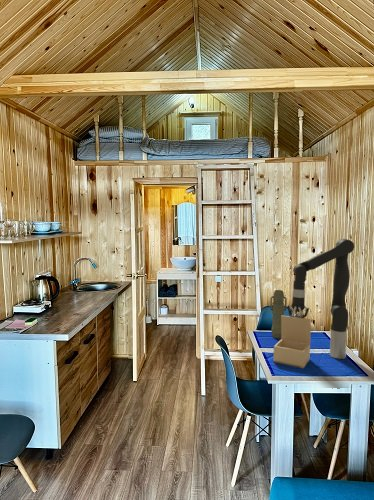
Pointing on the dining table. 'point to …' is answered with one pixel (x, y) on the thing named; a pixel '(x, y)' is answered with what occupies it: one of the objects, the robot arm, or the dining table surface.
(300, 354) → the carton
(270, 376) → the dining table surface
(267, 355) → the dining table surface
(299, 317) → the carton flap
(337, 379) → the dining table surface
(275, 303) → the thermos
